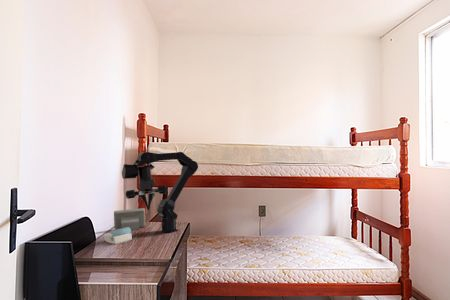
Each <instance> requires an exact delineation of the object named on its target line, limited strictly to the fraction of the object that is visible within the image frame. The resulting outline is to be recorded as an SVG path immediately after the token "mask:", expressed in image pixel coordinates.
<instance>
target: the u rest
mask: <svg viewBox="0 0 450 300" xmlns="http://www.w3.org/2000/svg"><path fill="white" fill-rule="evenodd" d="M109 234H110V232H108V233H104V234H103V235H104V236H103V237H104V242H106V243H109V244H113V245H119V244H123V243H127V242H131V241H132V240H133V239H132V236H133V235H132V232H131V233H129V234H124V235H120V236H116V237H113V241H112V240H111V239H109V237H108V235H109Z"/></svg>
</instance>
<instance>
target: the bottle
mask: <svg viewBox="0 0 450 300" xmlns="http://www.w3.org/2000/svg"><path fill="white" fill-rule="evenodd" d="M109 233H110V234H109V235H108V237H109V239H111V240H112V241H113V237H116V236H120V235H124V234H129V233H131V234H132V230H131V229H130V228H129V227H126V228H122V229H117V230H116V229H113V230H111V231H110V232H109Z"/></svg>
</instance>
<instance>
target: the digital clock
mask: <svg viewBox="0 0 450 300" xmlns="http://www.w3.org/2000/svg"><path fill="white" fill-rule="evenodd" d="M113 221H114V224H113V225H114V230H117V229H122V228H126V227H129V228H130V229H131V231H137V230H140V228H143V227H145V226H146V208H144V207H143V208H131V209H120V210H119V209H118V210H115V211H113Z"/></svg>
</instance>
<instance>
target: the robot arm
mask: <svg viewBox="0 0 450 300" xmlns="http://www.w3.org/2000/svg"><path fill="white" fill-rule="evenodd" d="M172 160H173V161H174V160H176V161H177V162H178V163H179V165H180V166H181V171H180V175H179V177H178V179H177V180H176V182H175V184H174V186H173V187H172V189H171V190H170V193H169V194H168V190H167V189H168V188H167V186H166V185H158V186H157V188H153V187H155V186H156V182H155V178H152V173H151V172H152V170H153V169H154V168H155V165H153V164H152V163H157V162H159V161H160V162H161V161H172ZM198 170H199V164H198V162H197V161H195V160H193V158H191V157H189V156H188V155H186V154H185V153H184V152H183V151H175V152H165V153H164V152H163V153H157V152H150V151H149V152H148V151H145V152H140V153H139V154H138V155H137V158H136V160H135V162H134V163H133V164H128V163H126V164H125V163H124V164H123V167H122V170H121V177H122V179H123V180H127V179H131V180H132V179H136V178H137V177H138V179H139V181H138V183H139V185H138V186H139V190H137V191H135V189H129V190H126V191H125V197H126V199H135V198H136V196H138V198H139V200H140V199H142V201H143V203H144V205H145V207H146V209H147V211H150V210H151V205H152V201H153V199H154V197H156V194H157V193H159V195H162V194H168V196H167V197H166V198H165V199H161V200H160V202H159V203H158V205H157V209H156V211H157V214H158V215H159V216H160V218H161V219H162V220H161V222H162V223H161V230H160V232H161V233H162V232H163V233H167V234H170V233H174V232H177V231H179V229H178V228H177V222H176V221H177V219H178V214H177V213H176V212H175V211H174V210H175V207H176V206H175V205H176V201H177V200H178V198H179V196H180V195H181V193H182V191H183V189H184V187H185V186H186V184H187V183H188V180H189V179H190V178H191V177H192V176H193V175H195V173H196V172H197V171H198ZM147 195H148V199H147Z"/></svg>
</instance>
